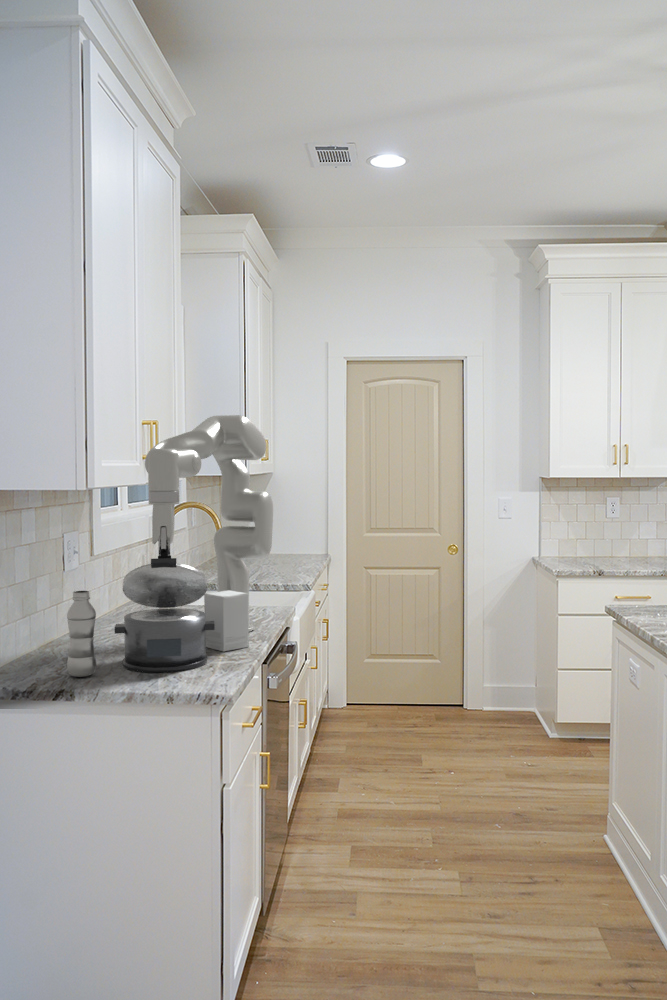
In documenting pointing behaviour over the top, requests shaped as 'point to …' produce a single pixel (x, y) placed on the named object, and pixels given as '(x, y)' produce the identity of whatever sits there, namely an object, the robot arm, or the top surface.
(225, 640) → the supplement box
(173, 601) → the lid
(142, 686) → the top surface
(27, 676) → the top surface
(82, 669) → the plastic bottle
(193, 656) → the pressure cooker
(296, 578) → the top surface
